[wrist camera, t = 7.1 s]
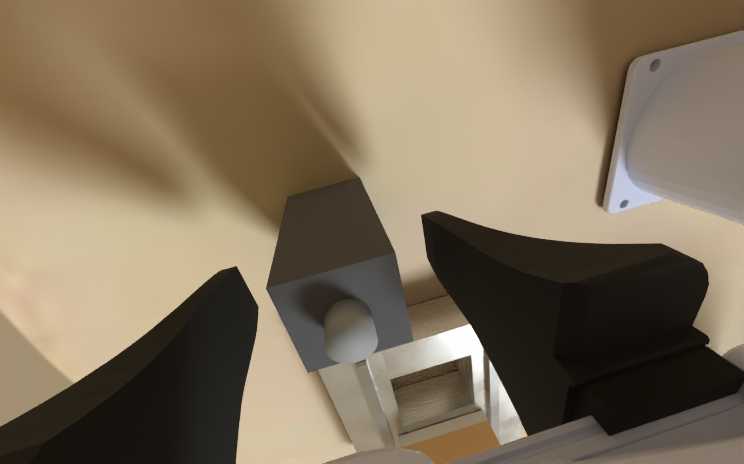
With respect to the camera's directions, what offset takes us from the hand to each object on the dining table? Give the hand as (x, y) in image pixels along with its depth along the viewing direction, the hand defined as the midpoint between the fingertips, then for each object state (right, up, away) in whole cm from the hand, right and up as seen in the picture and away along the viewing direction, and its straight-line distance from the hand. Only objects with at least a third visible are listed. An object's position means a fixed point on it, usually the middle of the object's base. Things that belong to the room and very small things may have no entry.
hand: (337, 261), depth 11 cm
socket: (+5, -9, +10) cm, 15 cm away
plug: (-1, +2, +3) cm, 4 cm away
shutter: (+7, -14, +10) cm, 19 cm away
